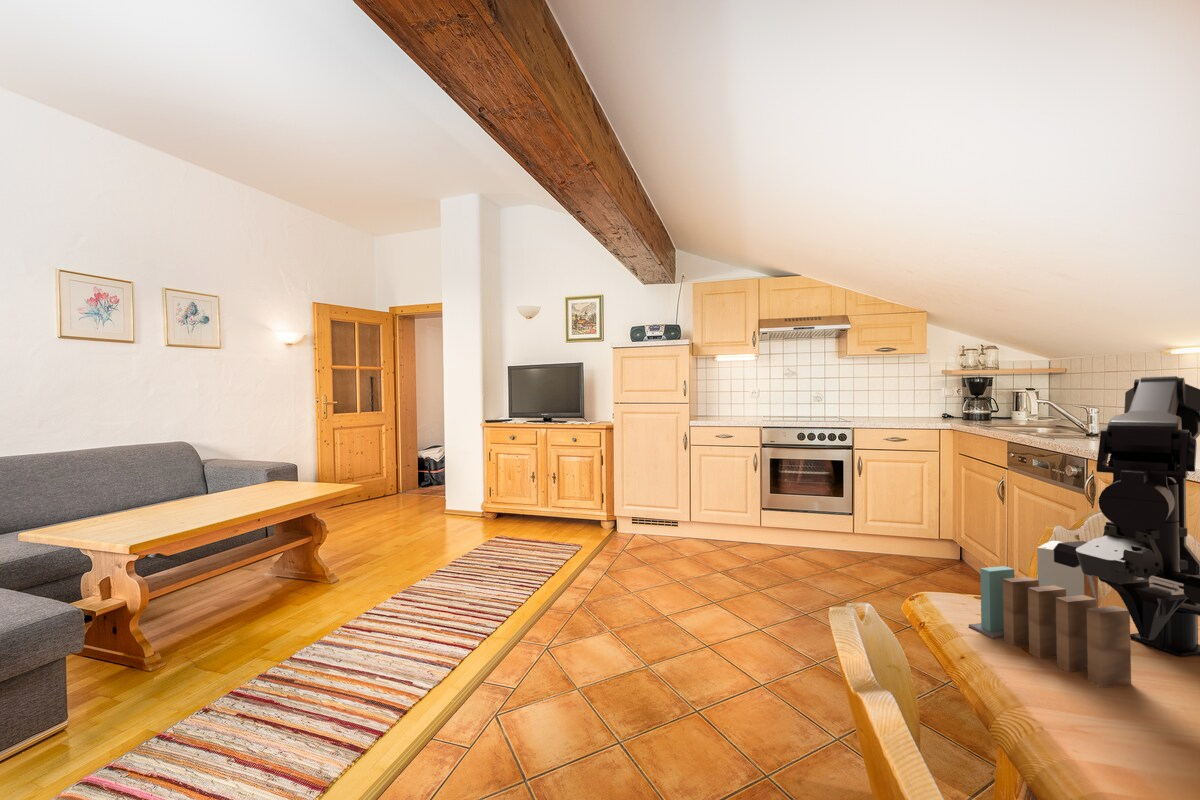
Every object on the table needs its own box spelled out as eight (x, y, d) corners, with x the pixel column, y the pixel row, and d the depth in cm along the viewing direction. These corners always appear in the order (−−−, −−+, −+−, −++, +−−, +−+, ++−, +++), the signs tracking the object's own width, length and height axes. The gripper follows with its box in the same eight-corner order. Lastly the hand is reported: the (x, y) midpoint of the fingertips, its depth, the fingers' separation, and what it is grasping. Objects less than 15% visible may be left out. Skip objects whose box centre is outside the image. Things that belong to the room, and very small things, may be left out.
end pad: (1003, 623, 87) (1003, 620, 87) (1028, 634, 83) (1028, 632, 83) (968, 626, 86) (968, 624, 86) (992, 638, 82) (992, 635, 82)
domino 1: (1005, 624, 86) (1004, 566, 86) (1015, 628, 84) (1014, 569, 84) (981, 627, 85) (980, 568, 85) (990, 631, 83) (989, 571, 83)
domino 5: (1117, 677, 70) (1115, 605, 70) (1131, 683, 68) (1129, 610, 69) (1087, 681, 69) (1086, 608, 69) (1101, 687, 68) (1100, 613, 68)
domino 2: (1029, 638, 82) (1028, 576, 82) (1040, 642, 80) (1038, 579, 80) (1003, 640, 81) (1002, 578, 81) (1013, 645, 79) (1012, 582, 80)
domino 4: (1085, 662, 74) (1083, 594, 74) (1097, 668, 72) (1096, 599, 72) (1056, 666, 73) (1055, 597, 73) (1068, 672, 72) (1067, 601, 72)
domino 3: (1056, 649, 78) (1054, 585, 78) (1067, 654, 76) (1066, 589, 76) (1029, 653, 77) (1027, 587, 77) (1039, 658, 75) (1038, 591, 76)
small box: (1085, 634, 83) (1084, 555, 83) (1036, 621, 88) (1035, 546, 88) (1100, 622, 87) (1098, 547, 87) (1052, 610, 93) (1051, 539, 93)
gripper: (1020, 506, 72) (1022, 614, 72) (1194, 540, 54) (1197, 685, 54) (1083, 502, 74) (1085, 607, 74) (1271, 534, 56) (1274, 674, 56)
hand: (1147, 638), depth 65 cm, fingers closed
